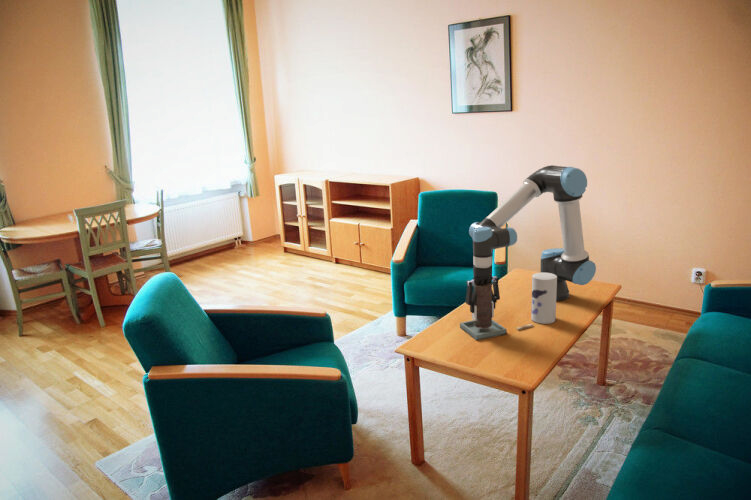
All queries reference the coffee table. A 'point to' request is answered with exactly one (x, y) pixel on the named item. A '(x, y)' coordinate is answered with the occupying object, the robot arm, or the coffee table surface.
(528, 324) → the beige wooden bar
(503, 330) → the dish
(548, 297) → the container
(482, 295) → the dark brown cylinder
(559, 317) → the coffee table surface
